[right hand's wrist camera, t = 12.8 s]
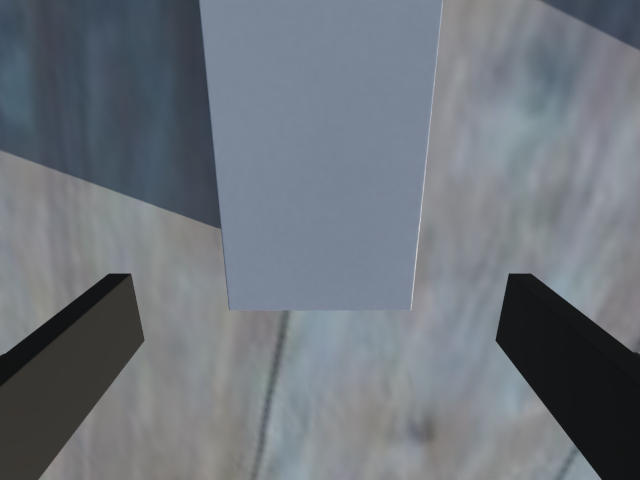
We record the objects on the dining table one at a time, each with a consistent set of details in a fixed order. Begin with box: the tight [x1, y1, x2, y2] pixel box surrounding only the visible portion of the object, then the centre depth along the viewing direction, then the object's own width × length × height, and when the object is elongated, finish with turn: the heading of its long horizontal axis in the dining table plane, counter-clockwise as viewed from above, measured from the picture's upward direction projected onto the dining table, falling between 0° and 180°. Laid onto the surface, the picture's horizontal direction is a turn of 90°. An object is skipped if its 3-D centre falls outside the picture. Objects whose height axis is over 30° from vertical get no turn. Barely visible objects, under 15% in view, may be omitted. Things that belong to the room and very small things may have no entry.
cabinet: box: [199, 0, 443, 310], centre depth 21 cm, size 20×10×10 cm, turn 0°
